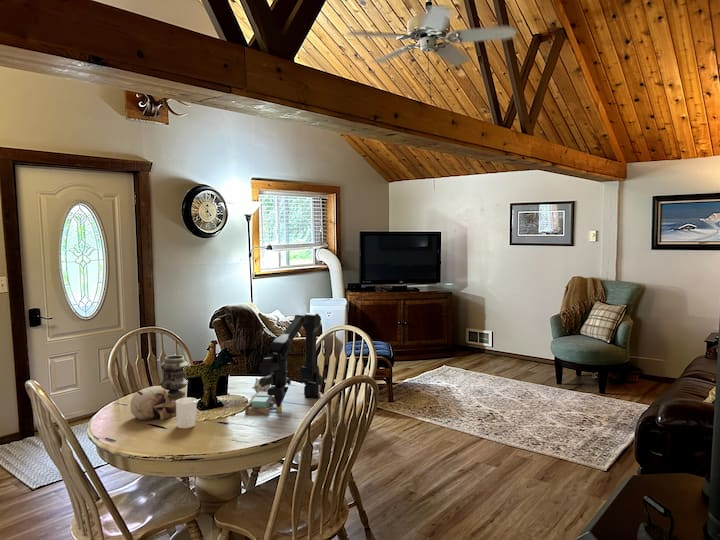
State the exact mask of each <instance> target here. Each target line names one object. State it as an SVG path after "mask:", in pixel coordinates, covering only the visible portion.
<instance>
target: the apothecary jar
mask: <svg viewBox="0 0 720 540" xmlns="http://www.w3.org/2000/svg"><path fill="white" fill-rule="evenodd" d="M188 365H189V363H188V361H186V359H185V356H184V355H182V354H171V355H167V356H165V357H164V361H162V363H161V365H160V367H161V369H162V370H163V377H162V380H161V381H160V385H159V386H160V387H162V388H164V389H165V390H166V391H167V392H168V394H170V397H171V399H172V398H173V399H175V398H182V397H183V396H185V395H186V392H185V391H182V389H184V388H186V387H187V385H188V384H187V381H188V379H187V378H186V377H185V378H186V379H187V380H186V379H185V378H184V372H183V368H184V367H185V366H187V367H188Z"/></svg>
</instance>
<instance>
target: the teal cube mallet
mask: <svg viewBox="0 0 720 540" xmlns="http://www.w3.org/2000/svg"><path fill="white" fill-rule="evenodd" d="M252 407H255V408H269V411H270V410H273V411H275V412H276V413H282V412H283V402H281V405H280V407H277V404H276V403H275V406H273V407H269V397H255V398H254V399H253V400H252Z"/></svg>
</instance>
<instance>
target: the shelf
mask: <svg viewBox="0 0 720 540" xmlns="http://www.w3.org/2000/svg"><path fill="white" fill-rule="evenodd" d="M257 394H258V393H257V392H256V393H255V394H254V395H253V396H252V398H251V399H250V400H249V401H248V402H247V403H246V405H245V406H244V411H245V412H244V413H245V415H259V416H261V415H263V416H266V415H267V416H268V415H270V409H269V408H255V407H252V400H253V399H254V398H255V397H256V395H257ZM274 403H276V400H275V397H274V395H272V402H269V407H274Z"/></svg>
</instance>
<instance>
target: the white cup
mask: <svg viewBox="0 0 720 540" xmlns="http://www.w3.org/2000/svg"><path fill="white" fill-rule="evenodd" d="M175 402H176V416H175V418H176V427H177V428H179V429H190V428H193V427H195V425H196V419H197V402H198V400H197V398H195V397H180V398H178V399H176V400H175Z"/></svg>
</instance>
